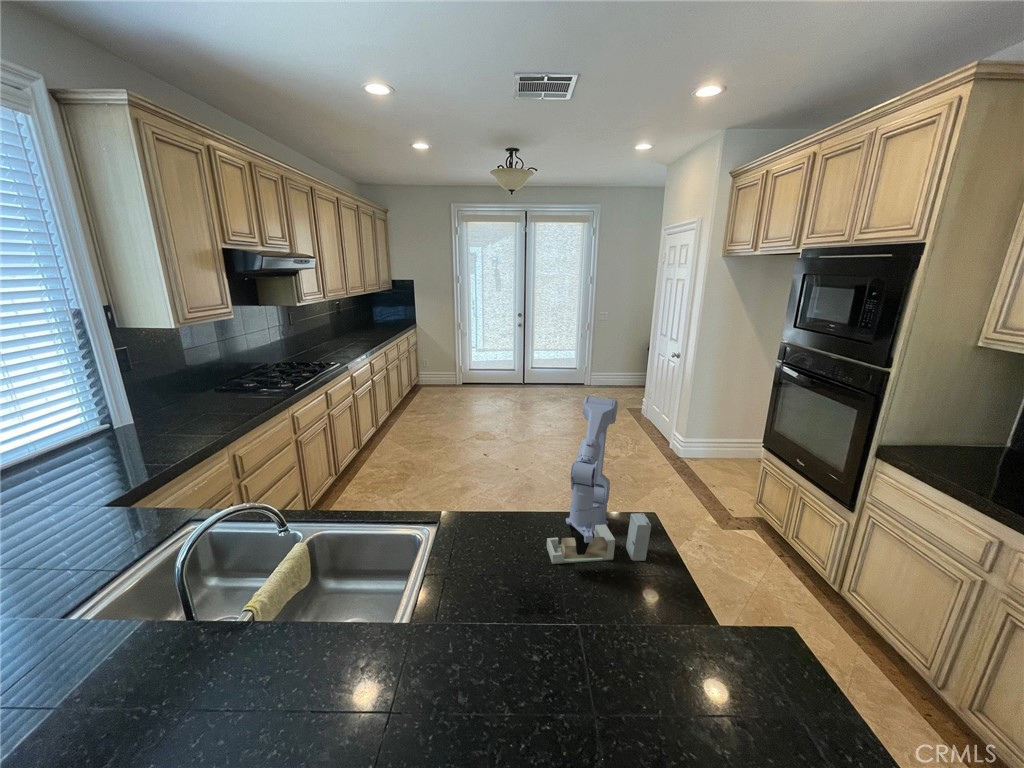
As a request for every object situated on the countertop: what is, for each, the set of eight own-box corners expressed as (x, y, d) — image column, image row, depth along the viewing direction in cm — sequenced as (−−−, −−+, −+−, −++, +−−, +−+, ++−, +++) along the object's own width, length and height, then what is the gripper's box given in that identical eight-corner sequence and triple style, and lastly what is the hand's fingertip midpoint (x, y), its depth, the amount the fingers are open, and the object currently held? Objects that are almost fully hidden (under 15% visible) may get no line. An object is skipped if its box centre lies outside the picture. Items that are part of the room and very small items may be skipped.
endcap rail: (604, 543, 123) (605, 524, 122) (613, 559, 116) (615, 539, 114) (546, 546, 121) (547, 527, 119) (552, 564, 114) (553, 543, 112)
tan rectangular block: (601, 549, 113) (603, 536, 112) (606, 557, 110) (608, 544, 109) (560, 550, 111) (561, 538, 110) (563, 559, 108) (565, 546, 107)
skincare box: (625, 547, 122) (629, 512, 118) (639, 547, 122) (644, 512, 119) (632, 561, 116) (636, 524, 113) (647, 561, 116) (651, 524, 113)
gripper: (560, 491, 113) (558, 533, 116) (575, 521, 99) (571, 568, 102) (584, 490, 114) (581, 532, 117) (602, 519, 100) (598, 566, 103)
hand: (578, 548), depth 110 cm, fingers closed on tan rectangular block, 3 cm apart
